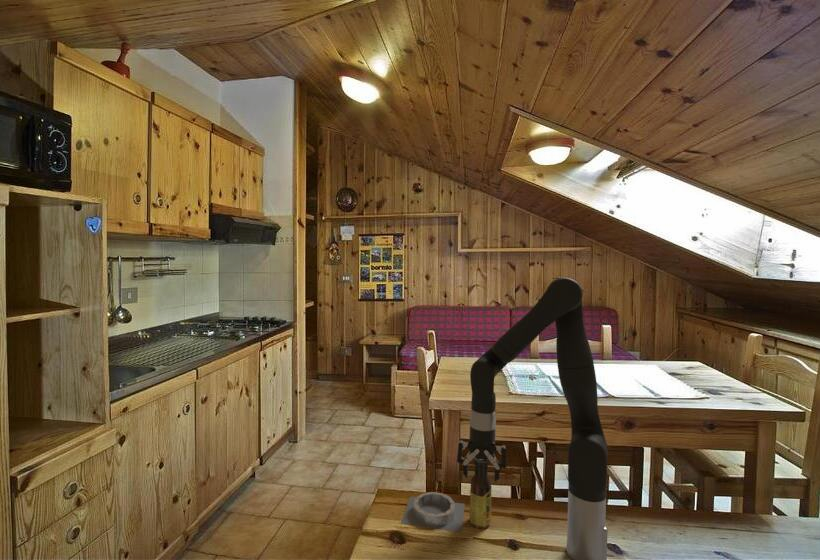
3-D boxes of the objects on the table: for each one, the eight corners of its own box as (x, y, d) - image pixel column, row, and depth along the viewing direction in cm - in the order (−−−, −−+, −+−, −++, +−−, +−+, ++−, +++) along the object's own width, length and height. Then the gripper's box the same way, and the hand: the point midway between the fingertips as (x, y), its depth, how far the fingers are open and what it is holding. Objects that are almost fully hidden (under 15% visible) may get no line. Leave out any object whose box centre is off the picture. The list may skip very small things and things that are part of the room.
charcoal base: (464, 507, 126) (464, 503, 126) (461, 536, 112) (461, 532, 112) (409, 500, 129) (410, 496, 129) (400, 527, 115) (400, 523, 115)
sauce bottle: (490, 534, 113) (492, 466, 112) (468, 531, 114) (470, 464, 114) (490, 520, 119) (492, 456, 119) (469, 517, 121) (471, 454, 120)
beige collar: (456, 504, 125) (456, 494, 125) (452, 529, 113) (452, 519, 113) (417, 499, 128) (418, 489, 128) (410, 523, 116) (410, 513, 116)
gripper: (506, 422, 118) (504, 475, 119) (459, 417, 121) (457, 468, 122) (507, 432, 111) (505, 488, 111) (457, 426, 114) (455, 481, 114)
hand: (480, 478), depth 116 cm, fingers open, 8 cm apart
